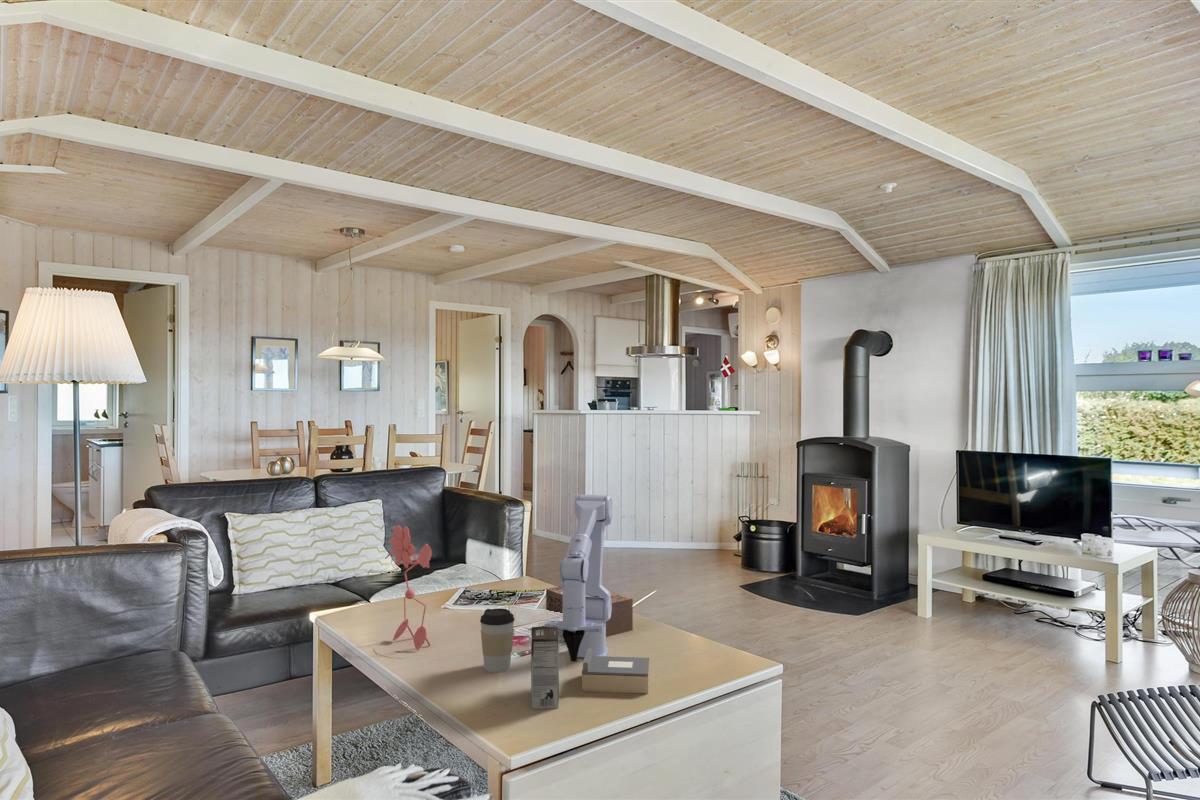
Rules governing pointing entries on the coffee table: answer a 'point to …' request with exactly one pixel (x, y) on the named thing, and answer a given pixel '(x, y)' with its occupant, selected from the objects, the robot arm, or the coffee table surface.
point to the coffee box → (545, 667)
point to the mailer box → (615, 683)
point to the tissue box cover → (619, 615)
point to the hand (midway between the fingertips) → (573, 660)
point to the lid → (615, 665)
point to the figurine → (403, 552)
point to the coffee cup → (497, 639)
